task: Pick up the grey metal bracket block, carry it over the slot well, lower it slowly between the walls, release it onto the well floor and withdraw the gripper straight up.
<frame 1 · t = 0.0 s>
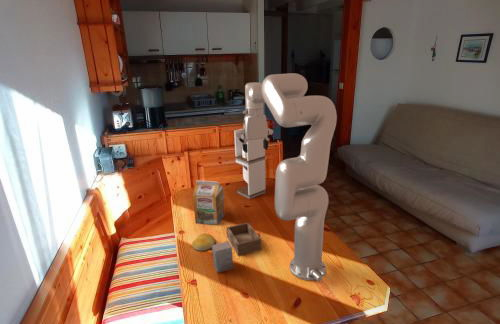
hand: (255, 150, 140), 31 cm above the table, fingers open, 9 cm apart
well: (243, 243, 127), on the table
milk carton: (210, 219, 147), on the table
light grey boxy piece: (251, 193, 172), on the table
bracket: (223, 267, 113), on the table
bread roll: (203, 245, 127), on the table
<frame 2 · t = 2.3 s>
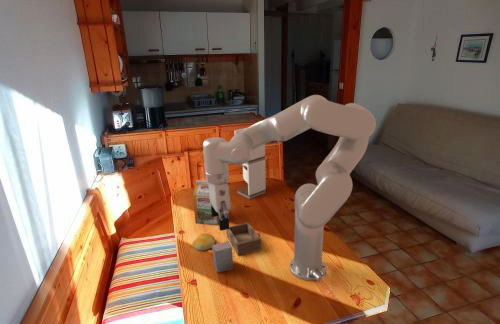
hand: (220, 222, 107), 18 cm above the table, fingers open, 9 cm apart
nothing on the table moved.
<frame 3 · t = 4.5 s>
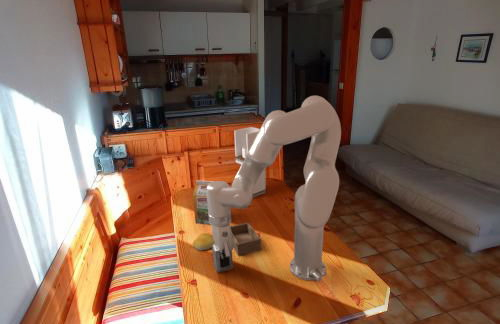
hand: (223, 261, 112), 2 cm above the table, fingers closed on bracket, 4 cm apart
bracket: (223, 267, 113), on the table, touching gripper
everything else where it was.
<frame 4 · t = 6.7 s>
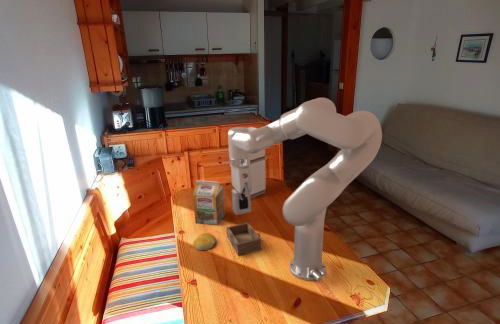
hand: (241, 205, 121), 17 cm above the table, fingers closed on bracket, 4 cm apart
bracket: (241, 211, 122), point 15 cm above the table, touching gripper
everything else where it was.
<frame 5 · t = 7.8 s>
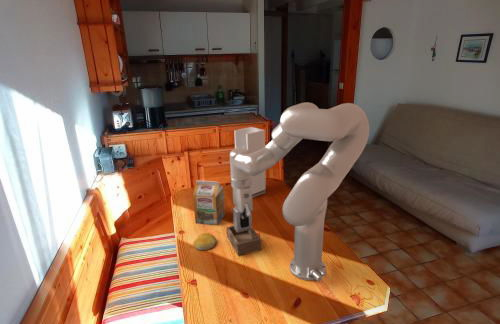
hand: (242, 223, 124), 9 cm above the table, fingers closed on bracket, 4 cm apart
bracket: (242, 228, 125), point 7 cm above the table, touching gripper
everything else where it was.
when the fingers open (5 cm above the table, at t = 8.9 s): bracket drops 2 cm, resting on well.
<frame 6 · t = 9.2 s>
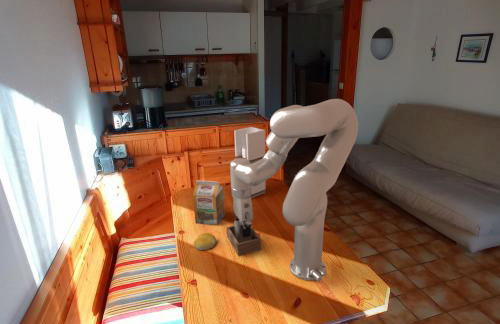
hand: (243, 231, 125), 6 cm above the table, fingers open, 7 cm apart
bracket: (243, 241, 127), point 1 cm above the table, touching well
everything else where it was.
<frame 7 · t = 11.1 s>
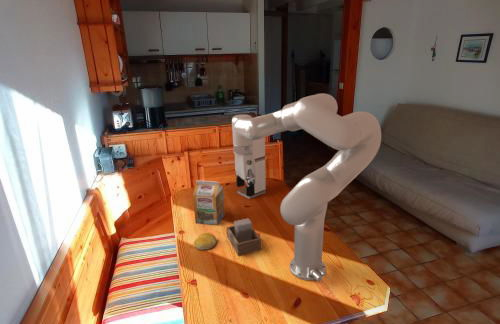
hand: (245, 190, 122), 22 cm above the table, fingers open, 9 cm apart
nothing on the table moved.
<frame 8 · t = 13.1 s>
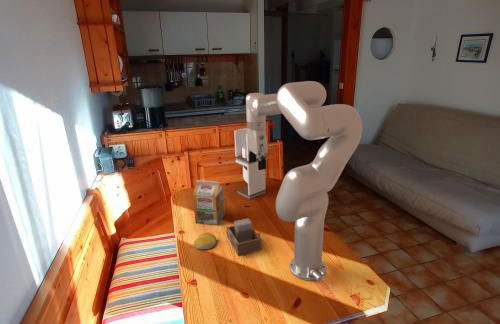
hand: (257, 165, 130), 28 cm above the table, fingers open, 9 cm apart
nothing on the table moved.
at the end: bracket inside the target area on the well (0.2 cm from its centre), point 0.8 cm above the well's base; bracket tilted 0°; the gripper is holding nothing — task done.
